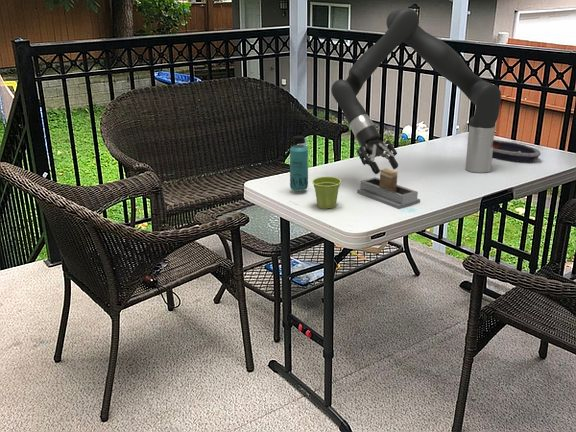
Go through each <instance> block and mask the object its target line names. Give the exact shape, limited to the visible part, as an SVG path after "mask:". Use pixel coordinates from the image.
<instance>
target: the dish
mask: <svg viewBox="0 0 576 432" xmlns="http://www.w3.org/2000/svg"><path fill="white" fill-rule="evenodd" d="M541 154H542V153H541V151H540V150H539V149H537V148H535V147H532V146H528V145H525V144H521V143H517V142H513V141H512V142H510V141H505V140H497V139H493V154H492V158H495V159H499V160H504V161H505V160H506V161H512V162H517V163H518V162H519V163H526V162H527V163H529V162H530V163H531V162H535V161H536V160H538V158H540V156H541Z"/></svg>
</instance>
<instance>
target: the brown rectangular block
mask: <svg viewBox="0 0 576 432" xmlns="http://www.w3.org/2000/svg"><path fill="white" fill-rule="evenodd" d="M379 179H380V187H383V188H386V189H388V190H391V191H394V192H396V191H397V185H398V171H396V170H395V169H390V168H382V169H380V172H379Z"/></svg>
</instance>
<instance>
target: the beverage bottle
mask: <svg viewBox="0 0 576 432" xmlns="http://www.w3.org/2000/svg"><path fill="white" fill-rule="evenodd" d="M292 140H293V141H292V144H293V145H292V146H291V147H290V148H289V160H290V161H289V188H290V189H291V190H293V191H305V190H308V187H309V159H308V158H309V148H308V147H307V146H306V145H304V144H305V143H306V137H305V136H303V135H293V138H292Z"/></svg>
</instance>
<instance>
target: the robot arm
mask: <svg viewBox="0 0 576 432" xmlns="http://www.w3.org/2000/svg"><path fill="white" fill-rule="evenodd" d="M419 17H420V16H419V14H418V13H417V12H416V11H415V10H414V9H413V8H407V7H404V8H398V9H394V10H392V11H391V12H390V13H389V14H388V15H387V17H386V28H387V30H386V32H385V33H383V35H382V36H381V37H380V38H379V39H378V40H377V41H375V43H374V44H373V45H372V46H369V48H368V49H366V50H365V52H363V54H361V55H360V57H359V58H358V59H357V60H356V61H355V63H354V64H353V65H352V66H351V67H350V68H349V70H348V76H347V78H346V79H338V80H336V81H334V82H333V84H332V85H331V88H330V90H331V91H330V92H331V96H332V97H333V99H334V100H335V102H336V104H337V105H338V106H339V108H340V110H341V111H342V113H343V114H344V117H345V120H346V121H347V123H348V125H349V126H350V129H351V131H352V133H353V135H354V137H355V139H356V140H357V141H356V142H358V144H359V147H358V149H357V150H356V153H357V155H358V157H359V159H360V161H361V164H363V166H366V165H368V166H369V167H370V168H371V170H372V172H373V173H374V174H375V175H378V174H380V170H381V169H380V168H379V166H378V164H377V162H376V161H375V158H377V157H381V158H385V159H387V160H388V163H389V164H390V166H391V168H392V170H397V169H398V167H399V164H398V161H397V159H396V157H395V156H397V155H398V151H396V149H395V147H394V145H393V144H392V143H391V140H390V139H387V140H385V141H382V140H381V134H380V133H379V131H378V129H377V128H376V125H375V123H374V121H372V119H371V118H370V116H369V115H368V113H367V112H366V109H365V108H364V107H363V105H362V104H361V102H360V101H359V99H358V98H357V95H358V94H359V93H360V91H361V89H362V88H363V86H364V85H365V83H366V81H367V80H368V79H369V78H370V77H371V75H373V73H374V72H375V71H376V70H377V69H378V67H380V65H381V64H382V63H383V62H384V60H386V59H387V58H388V56H389V55H390V54H392V52H393V51H395V50H396V49H397V47H399V46H400V44H402V43H405V44H407V46H409V47H410V48H411V49H412V50H413V51H414V52H415V53H416V54H418V55H419V56H420V57H421V59H423V60H424V61H425V62H426V63H427V64H428V65H429V66H430V67H431V68H432V69H434V70H435V71H436V72H437V73H438V74H439V75H441V76H442V77H443V78H444V79H446V80H447V81H449V82H450V83H452V84H453V85H455V86H456V87H457V88H458V89H459V90H460V91H461V92H462V93H463V94H464V95H465V96H466V97H467V98H468V100H469V102H470V101H471V103H472V104H473V105H475V108H474V109H475V110H474V113H473V114H474V115H473V116H471V117H470V119H469V125H468V135H467V136H468V137H467V145H466V156H465V167H464V168H465V170H466V171H468V172H470V173H471V172H472V173H478V174H481V173H482V174H483V173H485V174H486V173H491V171H492V162H493V157H492V154H493V140H495V139H494V138H495V131H496V130H495V129H496V122H497V120H498V118H499V115H500V108H501V101H502V92H501V90H500V88H499V86H498V85H496V84H494V83H491V82H489V81H486V80H484V79H483V78H481V77H480V76H478V75H477V74H476V73H474V72H473V71H472V70H471V69H470V68H469V66H468V65H467V63H466V62H465V61H464V59H463V57H461V55H460V54H459V53H458V52H457V51H456V50H455V49H453V48H452V47H451V46H450V45H449V44H447V43H446V42H445V41H443V40H441V39H439V38H438V37H436V36H434V35H432V34H430V33H428V32H427V31H425V30H424V29H423V28H422V27H421V26H420V25H419V23H420V18H419Z"/></svg>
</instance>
